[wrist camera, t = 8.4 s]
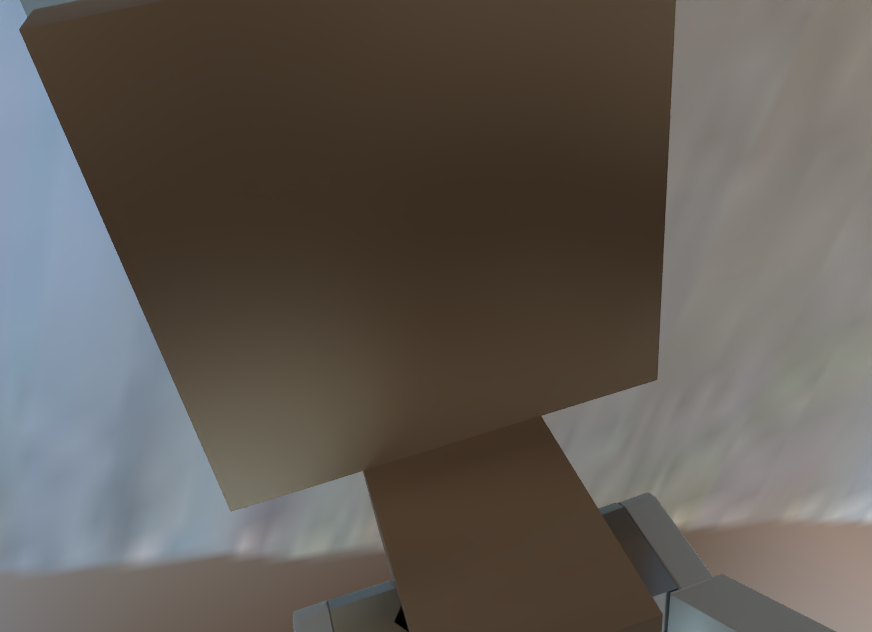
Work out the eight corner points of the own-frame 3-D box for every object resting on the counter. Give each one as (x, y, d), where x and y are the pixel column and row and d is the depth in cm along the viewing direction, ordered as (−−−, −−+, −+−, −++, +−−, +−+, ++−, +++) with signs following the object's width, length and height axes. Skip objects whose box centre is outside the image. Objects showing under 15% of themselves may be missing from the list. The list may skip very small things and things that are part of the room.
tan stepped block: (623, 646, 16) (738, 856, 13) (345, 748, 15) (392, 1002, 12) (638, -110, 8) (968, -60, 5) (33, 9, 7) (-89, 180, 4)
